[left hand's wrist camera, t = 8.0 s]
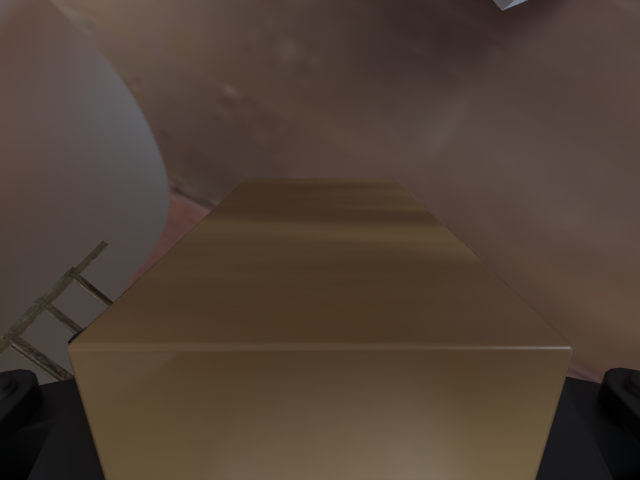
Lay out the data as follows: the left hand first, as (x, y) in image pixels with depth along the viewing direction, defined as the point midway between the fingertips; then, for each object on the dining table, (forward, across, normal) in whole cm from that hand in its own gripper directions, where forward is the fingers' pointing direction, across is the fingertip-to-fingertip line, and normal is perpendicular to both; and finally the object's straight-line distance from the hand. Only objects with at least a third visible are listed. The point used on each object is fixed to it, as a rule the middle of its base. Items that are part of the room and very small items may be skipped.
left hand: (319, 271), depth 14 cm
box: (+1, 0, -10) cm, 10 cm away
